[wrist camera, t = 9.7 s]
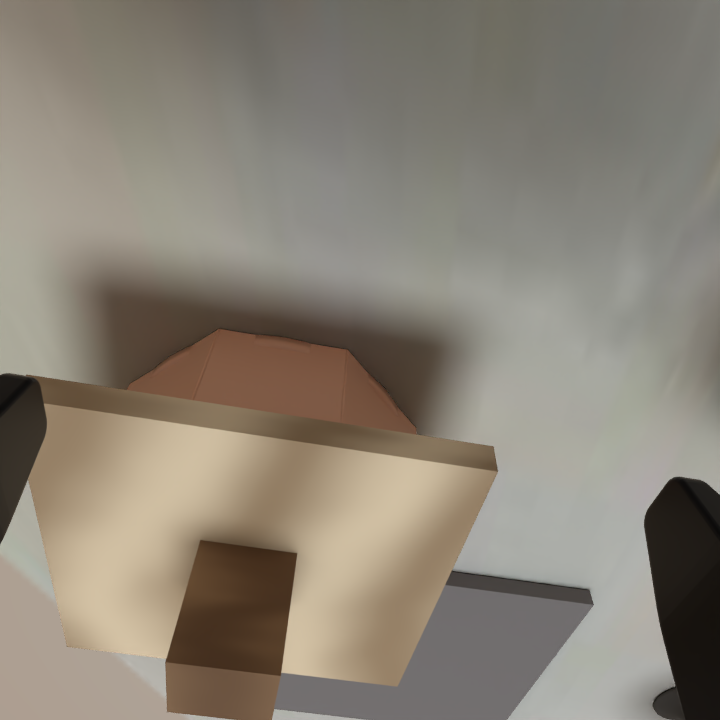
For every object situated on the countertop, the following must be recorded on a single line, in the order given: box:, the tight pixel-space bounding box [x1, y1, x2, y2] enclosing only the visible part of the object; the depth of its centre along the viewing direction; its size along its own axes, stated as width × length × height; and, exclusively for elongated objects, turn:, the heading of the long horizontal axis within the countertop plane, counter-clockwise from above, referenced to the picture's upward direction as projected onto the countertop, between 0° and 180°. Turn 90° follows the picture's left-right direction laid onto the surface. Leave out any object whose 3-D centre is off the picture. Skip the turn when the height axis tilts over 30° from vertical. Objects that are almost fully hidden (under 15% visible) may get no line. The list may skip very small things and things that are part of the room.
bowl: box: [127, 329, 416, 434], centre depth 24 cm, size 12×12×5 cm
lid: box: [26, 375, 498, 720], centre depth 20 cm, size 14×14×5 cm
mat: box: [274, 572, 594, 720], centre depth 35 cm, size 16×16×1 cm
